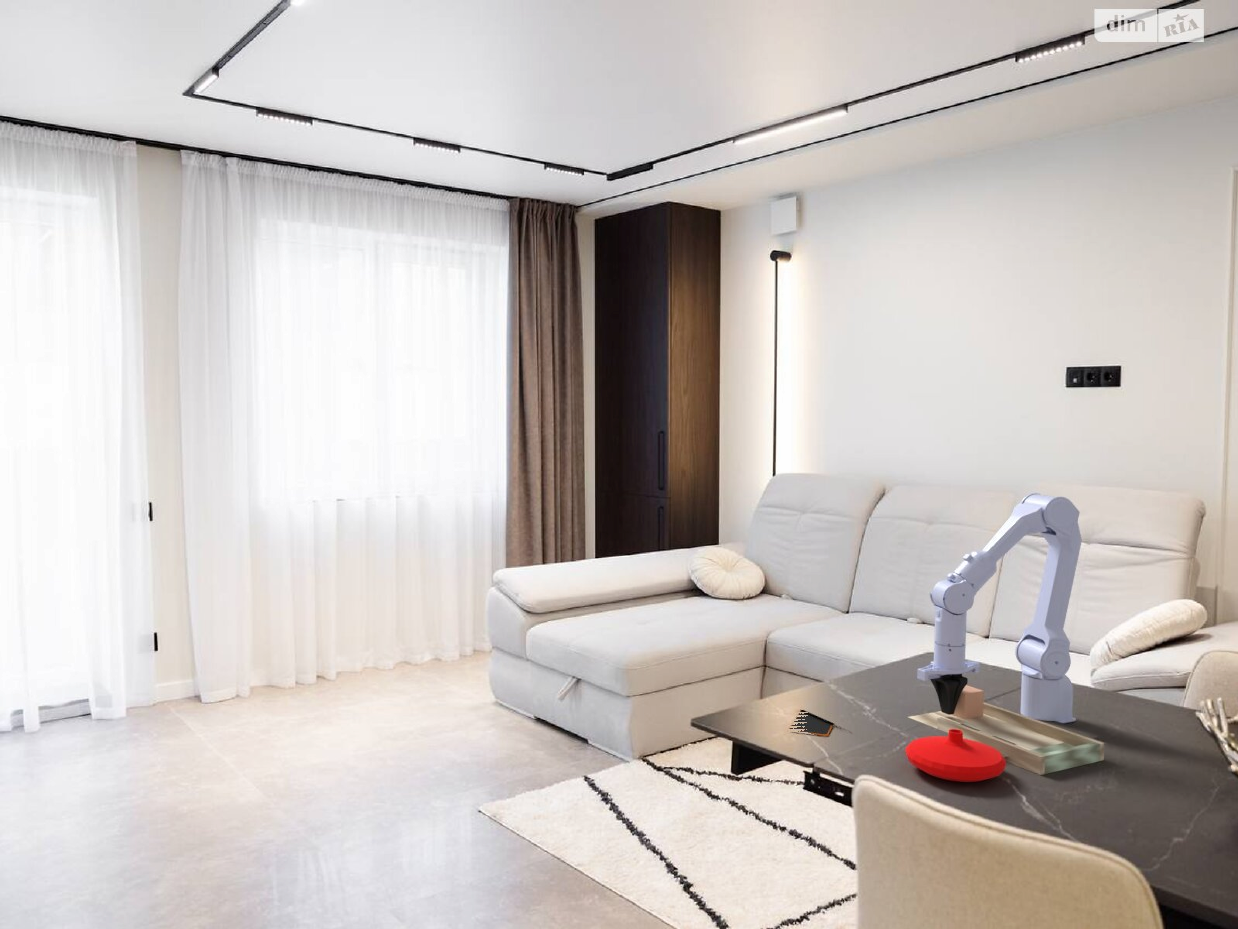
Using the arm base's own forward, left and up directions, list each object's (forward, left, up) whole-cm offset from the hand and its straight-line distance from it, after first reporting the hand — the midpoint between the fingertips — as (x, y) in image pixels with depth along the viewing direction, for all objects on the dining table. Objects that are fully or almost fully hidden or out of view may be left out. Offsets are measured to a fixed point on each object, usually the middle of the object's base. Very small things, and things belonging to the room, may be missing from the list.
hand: (947, 713), depth 181 cm
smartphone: (+23, -11, -2) cm, 26 cm away
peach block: (-4, 0, -1) cm, 4 cm away
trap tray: (-1, +12, -2) cm, 12 cm away
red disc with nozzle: (+19, +20, -2) cm, 27 cm away
